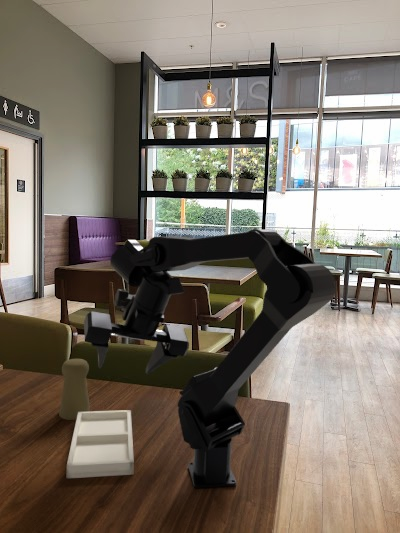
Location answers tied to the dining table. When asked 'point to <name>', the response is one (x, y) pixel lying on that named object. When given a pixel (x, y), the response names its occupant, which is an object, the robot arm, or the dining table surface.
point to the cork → (74, 389)
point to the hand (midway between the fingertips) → (123, 369)
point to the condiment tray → (101, 445)
